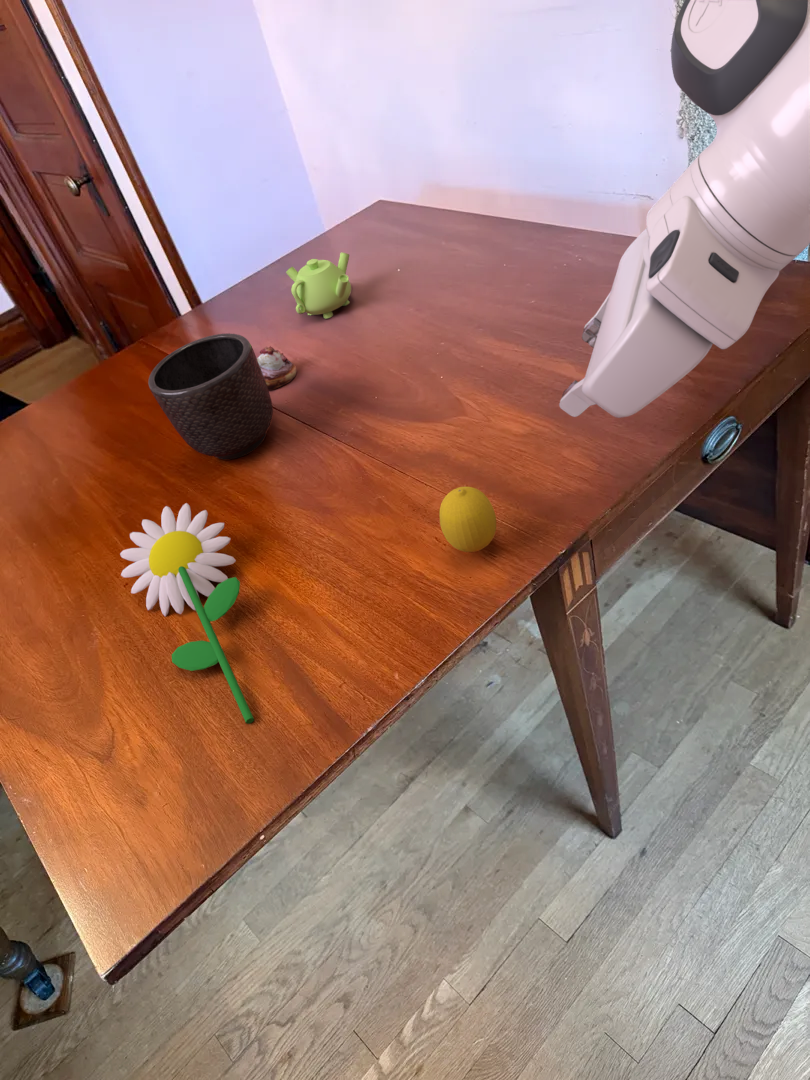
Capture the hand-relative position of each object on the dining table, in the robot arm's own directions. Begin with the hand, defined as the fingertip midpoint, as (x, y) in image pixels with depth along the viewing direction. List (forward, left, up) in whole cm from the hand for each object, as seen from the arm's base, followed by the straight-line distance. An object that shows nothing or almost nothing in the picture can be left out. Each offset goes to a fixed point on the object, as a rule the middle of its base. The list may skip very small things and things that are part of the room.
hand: (578, 371), depth 59 cm
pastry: (+62, +6, -20) cm, 66 cm away
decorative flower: (+22, +34, -20) cm, 45 cm away
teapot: (+74, -12, -20) cm, 78 cm away
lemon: (+9, +8, -20) cm, 24 cm away
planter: (+51, +17, -20) cm, 58 cm away
